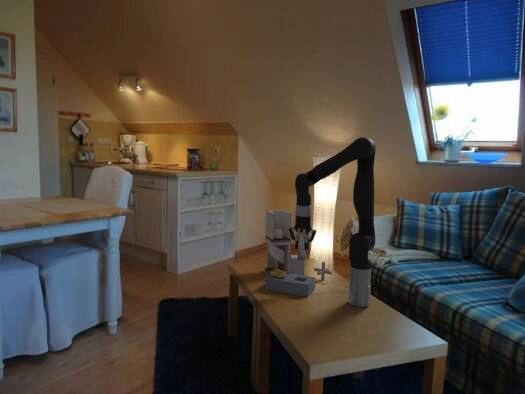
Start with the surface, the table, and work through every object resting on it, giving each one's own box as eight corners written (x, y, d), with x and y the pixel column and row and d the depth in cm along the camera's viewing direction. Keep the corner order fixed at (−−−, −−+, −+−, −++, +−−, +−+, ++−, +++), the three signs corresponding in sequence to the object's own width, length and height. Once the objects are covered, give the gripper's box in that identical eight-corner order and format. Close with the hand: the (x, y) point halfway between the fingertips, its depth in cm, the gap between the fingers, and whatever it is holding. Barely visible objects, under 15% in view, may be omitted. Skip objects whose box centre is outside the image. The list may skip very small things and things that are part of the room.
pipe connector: (326, 284, 207) (327, 266, 206) (309, 280, 213) (310, 262, 212) (335, 280, 215) (336, 262, 213) (319, 276, 221) (319, 258, 219)
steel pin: (306, 259, 196) (307, 231, 194) (304, 261, 192) (305, 232, 191) (298, 258, 198) (299, 230, 196) (296, 260, 194) (297, 231, 192)
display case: (264, 271, 227) (266, 210, 222) (282, 270, 230) (284, 210, 226) (270, 277, 216) (272, 213, 212) (289, 276, 219) (291, 213, 215)
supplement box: (304, 281, 210) (305, 258, 209) (290, 281, 211) (290, 258, 209) (302, 277, 218) (303, 254, 216) (289, 277, 218) (290, 254, 216)
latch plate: (289, 274, 203) (289, 272, 203) (283, 279, 195) (283, 277, 195) (275, 269, 205) (276, 267, 205) (269, 274, 198) (269, 272, 198)
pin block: (315, 289, 200) (315, 277, 199) (308, 297, 189) (308, 284, 188) (274, 282, 208) (274, 271, 208) (265, 289, 198) (265, 277, 197)
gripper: (319, 214, 193) (318, 249, 195) (291, 212, 198) (290, 245, 200) (315, 217, 186) (313, 253, 188) (286, 214, 191) (285, 249, 194)
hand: (301, 249), depth 194 cm, fingers closed on steel pin, 4 cm apart
